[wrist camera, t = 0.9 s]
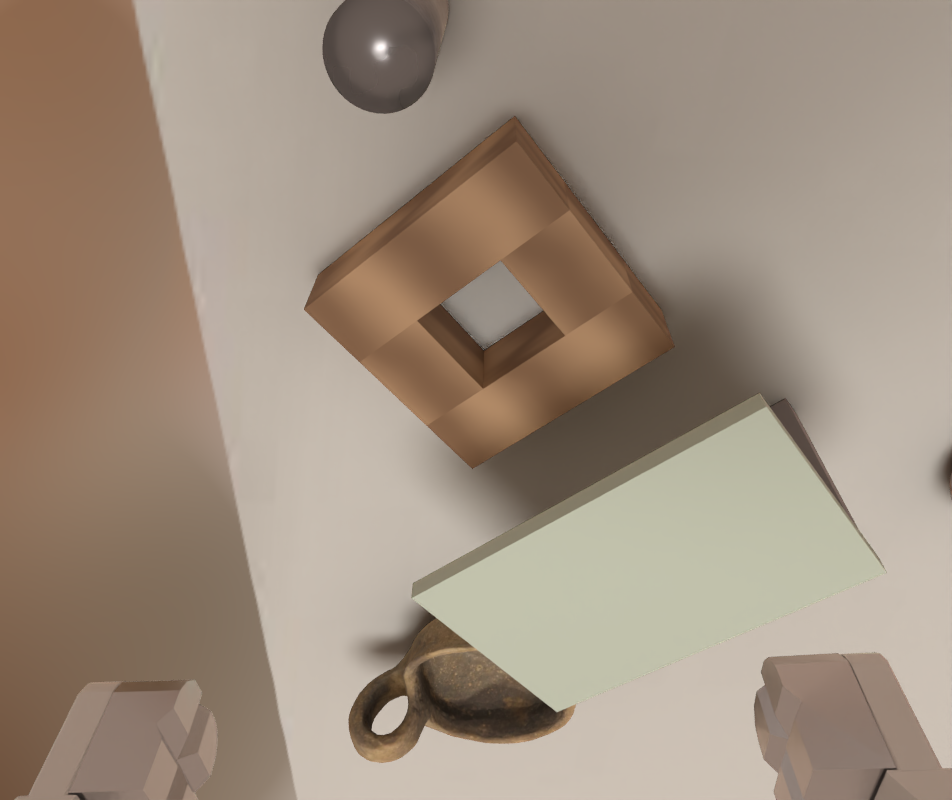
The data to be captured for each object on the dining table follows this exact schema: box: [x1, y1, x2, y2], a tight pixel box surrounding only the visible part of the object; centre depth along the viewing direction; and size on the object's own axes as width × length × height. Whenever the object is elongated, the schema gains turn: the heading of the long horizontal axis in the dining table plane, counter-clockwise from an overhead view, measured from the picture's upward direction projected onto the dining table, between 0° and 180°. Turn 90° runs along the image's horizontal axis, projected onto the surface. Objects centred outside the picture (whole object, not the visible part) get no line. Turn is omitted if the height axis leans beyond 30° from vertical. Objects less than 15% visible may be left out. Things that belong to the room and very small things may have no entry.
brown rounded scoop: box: [349, 618, 576, 763], centre depth 58 cm, size 14×18×10 cm
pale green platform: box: [411, 393, 887, 712], centre depth 44 cm, size 20×13×13 cm, turn 129°
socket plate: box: [304, 116, 675, 469], centre depth 42 cm, size 14×14×4 cm
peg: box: [323, 0, 449, 114], centre depth 31 cm, size 4×4×10 cm
